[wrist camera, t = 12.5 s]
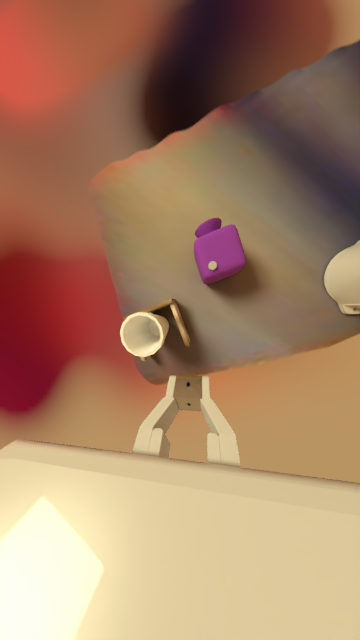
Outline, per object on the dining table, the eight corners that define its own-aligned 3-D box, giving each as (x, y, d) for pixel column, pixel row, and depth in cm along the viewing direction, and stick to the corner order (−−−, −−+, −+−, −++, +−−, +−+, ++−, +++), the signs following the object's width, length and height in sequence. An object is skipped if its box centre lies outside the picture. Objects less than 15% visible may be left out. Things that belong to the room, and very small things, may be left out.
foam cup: (138, 330, 42) (113, 341, 29) (152, 304, 41) (132, 304, 28) (164, 346, 41) (150, 364, 29) (180, 321, 40) (171, 327, 27)
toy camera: (218, 225, 36) (226, 194, 26) (242, 270, 36) (259, 257, 27) (183, 248, 38) (178, 227, 28) (207, 291, 38) (210, 285, 28)
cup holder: (190, 340, 40) (189, 346, 35) (148, 354, 42) (141, 362, 37) (174, 299, 40) (171, 298, 34) (133, 316, 42) (123, 317, 36)
